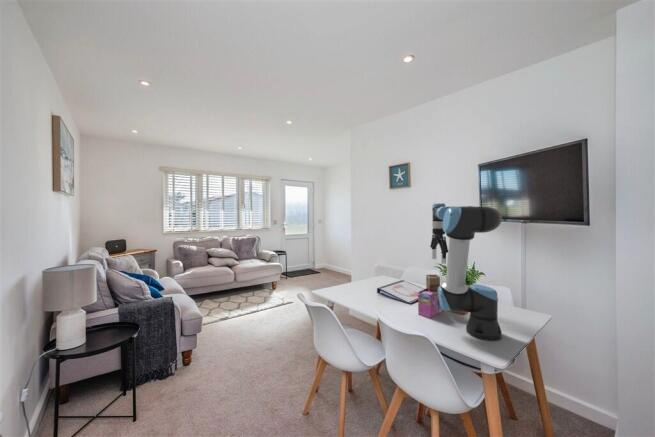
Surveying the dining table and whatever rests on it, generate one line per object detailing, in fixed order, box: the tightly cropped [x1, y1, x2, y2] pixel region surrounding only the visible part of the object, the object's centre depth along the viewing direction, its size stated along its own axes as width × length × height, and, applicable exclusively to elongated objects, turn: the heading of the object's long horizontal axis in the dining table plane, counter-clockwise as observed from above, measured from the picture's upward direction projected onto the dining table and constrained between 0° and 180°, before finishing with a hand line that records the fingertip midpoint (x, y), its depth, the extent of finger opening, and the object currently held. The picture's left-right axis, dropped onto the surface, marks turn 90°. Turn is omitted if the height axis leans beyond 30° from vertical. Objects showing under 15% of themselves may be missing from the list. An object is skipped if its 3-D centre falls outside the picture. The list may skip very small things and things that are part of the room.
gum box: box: [417, 285, 444, 319], centre depth 162 cm, size 24×8×14 cm, turn 134°
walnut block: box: [425, 274, 441, 290], centre depth 162 cm, size 6×6×8 cm
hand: (438, 261), depth 170 cm, fingers open, 13 cm apart
